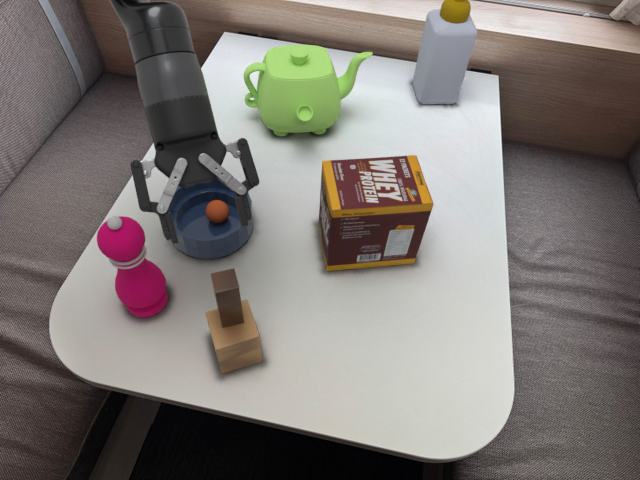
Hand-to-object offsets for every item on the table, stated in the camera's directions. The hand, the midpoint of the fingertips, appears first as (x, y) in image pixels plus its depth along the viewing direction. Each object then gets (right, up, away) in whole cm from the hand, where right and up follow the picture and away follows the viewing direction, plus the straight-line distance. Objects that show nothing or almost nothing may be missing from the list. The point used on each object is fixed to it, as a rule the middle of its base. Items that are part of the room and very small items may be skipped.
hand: (211, 234), depth 63 cm
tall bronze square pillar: (+1, -11, +8) cm, 14 cm away
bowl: (-6, +2, +27) cm, 28 cm away
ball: (-4, +4, +26) cm, 27 cm away
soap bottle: (+39, +32, +54) cm, 74 cm away
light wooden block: (+1, -17, +14) cm, 22 cm away
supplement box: (+21, -1, +27) cm, 34 cm away
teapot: (+11, +23, +45) cm, 52 cm away
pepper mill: (-14, -10, +18) cm, 25 cm away
